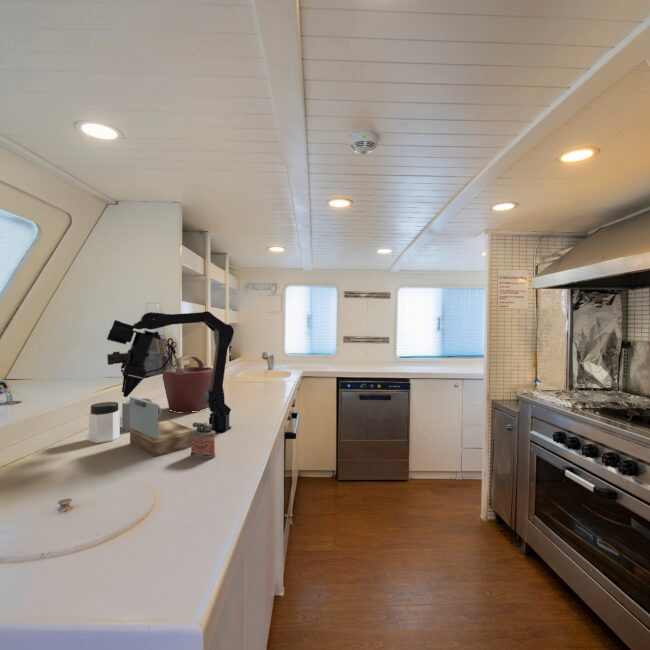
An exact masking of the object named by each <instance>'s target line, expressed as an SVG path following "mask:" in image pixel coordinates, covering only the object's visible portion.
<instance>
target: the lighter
mask: <svg viewBox="0 0 650 650" xmlns="http://www.w3.org/2000/svg"><path fill="white" fill-rule="evenodd" d="M192 427H193V428H194V430H191V447H190V449H191V450H190V457H191V458H194V457H196V459H200V458H203V460H213V459H215V458H216V450H215V449H216V441H215V438H216V436H215V435H216V432H215V431H212V430H211V424H209V423H208V422H207V421H204V422H198V421H197V422H196V421H194V422H192ZM195 428H196V429H195ZM214 457H215V458H214ZM212 458H213V459H212Z"/></svg>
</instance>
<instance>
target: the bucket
mask: <svg viewBox="0 0 650 650" xmlns="http://www.w3.org/2000/svg"><path fill="white" fill-rule="evenodd" d="M189 358H190V359H192V360H193V361H194V362H196V364H197V366H190V367H189V366H188V367H187V366H186V367H185V365H184V362H183V361H184V360H186V359H189ZM174 362H175V365H176V368H168V369H166V370H163V371H162V381H163V386H164V390H165V395H166V400H167V404H168V410H169V411H170V410H172V411H176V412H192V411H200V410H203V409H206V408H208V407H207V406H206V405H205V403H204V400H203V398H204V390H205V389H207V390H208V389H209V387H210V385H211V379H212V371H213V367H211V366H210V367H209V366H207V367H206V366H205V363H204V362H203V360H202V359H200V358H199V357H197V356H196V355H183V356H181V357H178V358H176V359H175V360H174ZM208 409H209V408H208ZM206 410H207V409H206ZM203 411H204V410H203ZM200 412H201V411H200Z"/></svg>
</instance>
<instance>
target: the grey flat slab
mask: <svg viewBox="0 0 650 650" xmlns="http://www.w3.org/2000/svg"><path fill="white" fill-rule="evenodd" d="M143 399H144V398H139V397H136V396H130V397H129V400H130V428H132V429H134V430H136V431H139V432H141V433H143V434H145V435H147V436H149V437H152V438H154V439H155V438H158V423H159V417H158V403H155V402H152V401H151V402H149V401H146V400H143Z"/></svg>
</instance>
